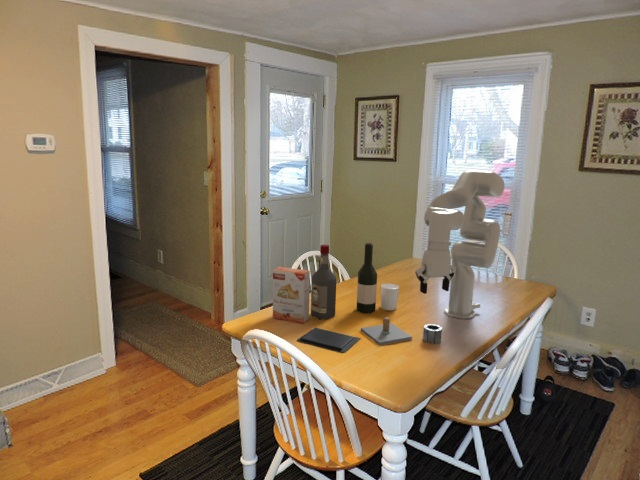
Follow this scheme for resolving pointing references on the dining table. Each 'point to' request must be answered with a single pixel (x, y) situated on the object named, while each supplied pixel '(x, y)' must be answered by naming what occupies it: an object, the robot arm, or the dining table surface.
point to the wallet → (329, 340)
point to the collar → (432, 333)
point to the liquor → (323, 288)
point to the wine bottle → (367, 283)
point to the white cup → (389, 296)
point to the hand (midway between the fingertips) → (434, 291)
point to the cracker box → (291, 294)
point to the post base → (386, 333)
